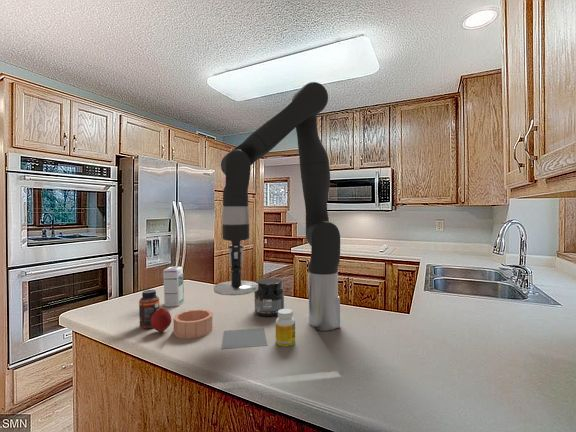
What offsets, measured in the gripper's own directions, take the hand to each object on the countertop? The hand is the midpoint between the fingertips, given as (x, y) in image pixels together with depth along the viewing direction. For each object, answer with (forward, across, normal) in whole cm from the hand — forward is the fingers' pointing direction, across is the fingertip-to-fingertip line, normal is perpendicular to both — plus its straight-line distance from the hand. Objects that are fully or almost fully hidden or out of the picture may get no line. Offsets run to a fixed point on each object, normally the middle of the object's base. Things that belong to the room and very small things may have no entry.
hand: (236, 283), depth 86 cm
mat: (+16, -1, -2) cm, 16 cm away
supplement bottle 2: (+17, -6, -13) cm, 22 cm away
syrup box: (+17, +38, +24) cm, 49 cm away
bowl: (+16, +7, +13) cm, 22 cm away
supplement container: (+17, +19, -11) cm, 28 cm away
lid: (+2, 0, 0) cm, 2 cm away
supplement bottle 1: (+17, +16, +28) cm, 36 cm away
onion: (+17, +10, +23) cm, 30 cm away
